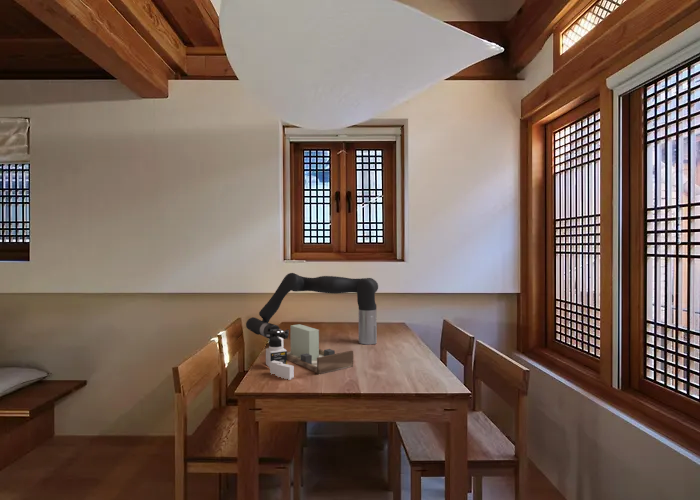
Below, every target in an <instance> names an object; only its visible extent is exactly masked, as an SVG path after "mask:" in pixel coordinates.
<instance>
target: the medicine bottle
mask: <svg viewBox="0 0 700 500" xmlns="http://www.w3.org/2000/svg"><path fill="white" fill-rule="evenodd" d="M284 346H285V345H284V339H283V338H281V337H272V338H270V339H269V338H268V347H267V348H265V364H266V366H267V367H268V368H269V369H270V362H271V361H274V360H275V361H279V362H283V364H288V360H287V352H288V350H287V349H286V348H284Z"/></svg>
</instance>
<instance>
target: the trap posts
mask: <svg viewBox="0 0 700 500" xmlns="http://www.w3.org/2000/svg"><path fill="white" fill-rule="evenodd" d="M323 351H324V356H328V355H332V354H336V351H335V350H334V349H331V348H326V349H323ZM301 360H302V361H305V362H307V363H309V364H312V355H310V354H307V353H306V354H301Z"/></svg>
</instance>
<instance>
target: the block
mask: <svg viewBox="0 0 700 500" xmlns="http://www.w3.org/2000/svg"><path fill="white" fill-rule="evenodd" d="M319 347H320V329H317V328H314V327H310V326H308V325H303V324H300V323H299V324H293V325H291V324H290V352H291V354H293V355H296V356H298V357H300V358H301V354H306V353H307V354H310V355H312V361H313V360H317V358H318V357H319V349H320V348H319Z"/></svg>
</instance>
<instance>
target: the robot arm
mask: <svg viewBox="0 0 700 500" xmlns="http://www.w3.org/2000/svg"><path fill="white" fill-rule="evenodd" d="M378 289H379V284H378V282H377V280H375V278H372V277H365V278H364V277H363V278H349V277H344V276H342V277H341V276H334V275H321V276H316V277H307V276H301V275H299V274H296V273H294V272H290V273H287V274H286V275H285V276H284V277H283V279H282V280H281V281H280V284H279V285H278V287H277V288H276V290H275V292H274V293H273V294H272V296H271V297H270V298H269V300H268V301H267V302H266V303H265V305H264V306H263V307H262V309H260V310H259V312H258V315H259V317H261V319H262V320H260V319H258V318H257V317H250V318H248V319H247V321H246V322H245V327H246V330H247V329H248V331H250V332H252V333H254V334H255V335H260V336H263V337H264V338H266V339H268V340H269V339H270V338H272V337H281V338H283V340H287V339H288V338H289V334H290V330H289V329H288V328H287V329H285V330H284V329H281V328H280V326H279V325H277V324H275V323H270V321H271V319H272V318H273V316H274V315H276V313H277V312H278V310H279V308H280V306H281V304H282V302H283V300H284V299H285V297H286V295H288V294H289V293H290V292H291V291H292V292H314V293H322V294H332V295H333V294H335V295H336V294H346V293H356V297H357V299H356V302H357V306H358V343H359V344H361V345H376V344H377V340H378V338H377V337H378V336H377V335H378V334H377V333H378V331H377V330H378V324H377V303H376V297H375V296H376V295H375V294H376V293H377V292H378Z"/></svg>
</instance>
